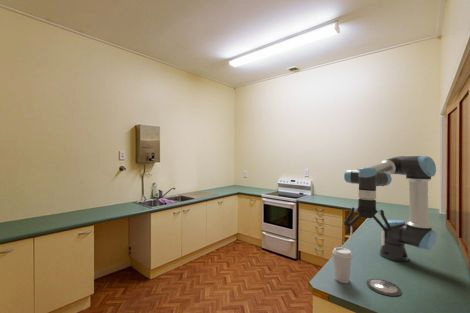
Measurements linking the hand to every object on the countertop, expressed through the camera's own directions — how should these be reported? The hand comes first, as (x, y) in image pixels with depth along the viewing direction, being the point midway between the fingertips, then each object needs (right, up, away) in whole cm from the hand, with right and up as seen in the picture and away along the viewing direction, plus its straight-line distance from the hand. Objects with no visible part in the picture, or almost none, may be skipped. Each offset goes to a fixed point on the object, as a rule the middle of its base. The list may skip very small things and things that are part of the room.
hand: (366, 242), depth 111 cm
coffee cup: (-10, -21, +5) cm, 24 cm away
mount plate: (+7, -21, -2) cm, 23 cm away
